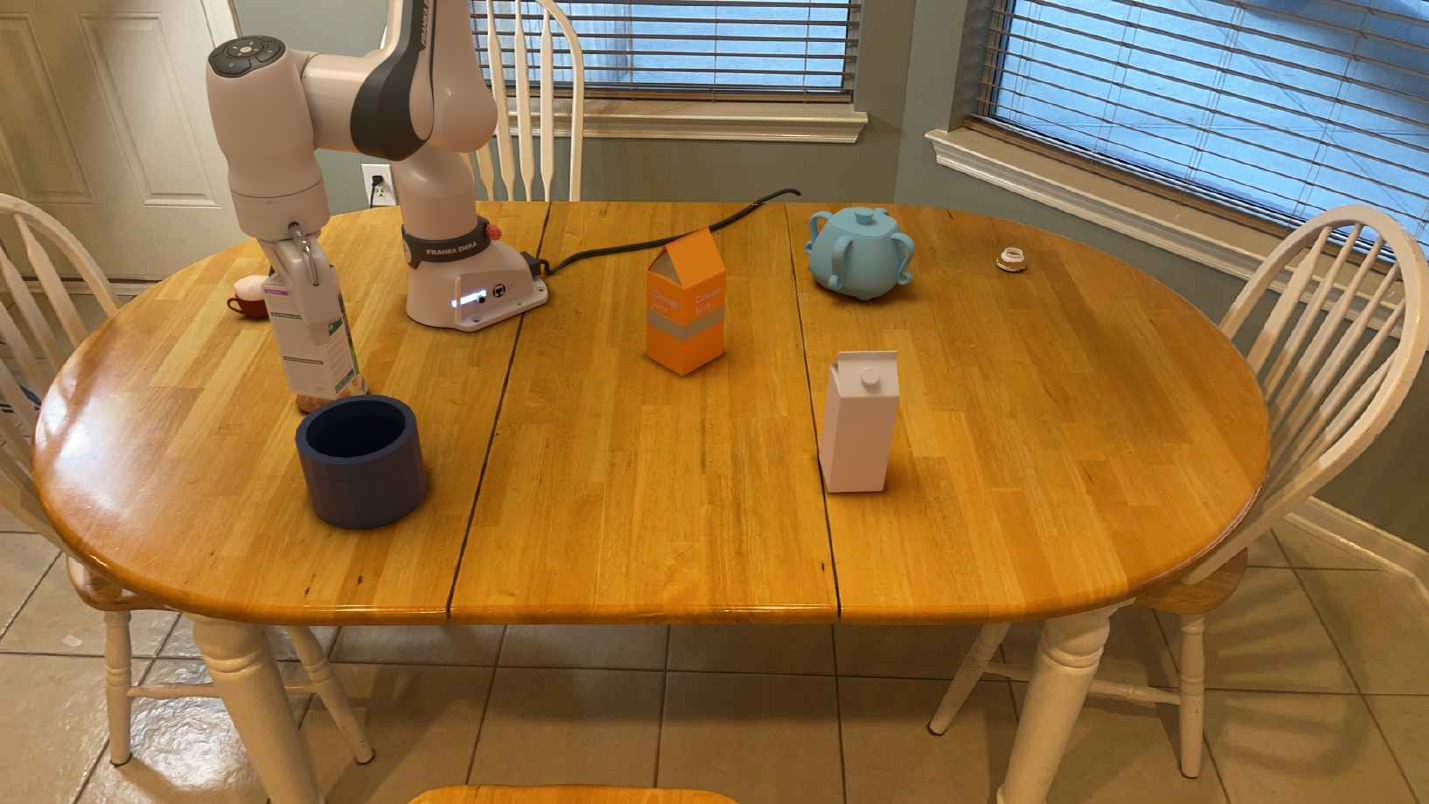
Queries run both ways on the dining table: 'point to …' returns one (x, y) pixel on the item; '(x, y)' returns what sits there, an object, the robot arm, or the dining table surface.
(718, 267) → the orange juice
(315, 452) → the dark blue bin
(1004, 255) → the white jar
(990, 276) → the dining table surface
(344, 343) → the syrup box
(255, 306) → the cocoa
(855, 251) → the decorative pot
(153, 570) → the dining table surface
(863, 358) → the milk carton
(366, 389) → the pastry
